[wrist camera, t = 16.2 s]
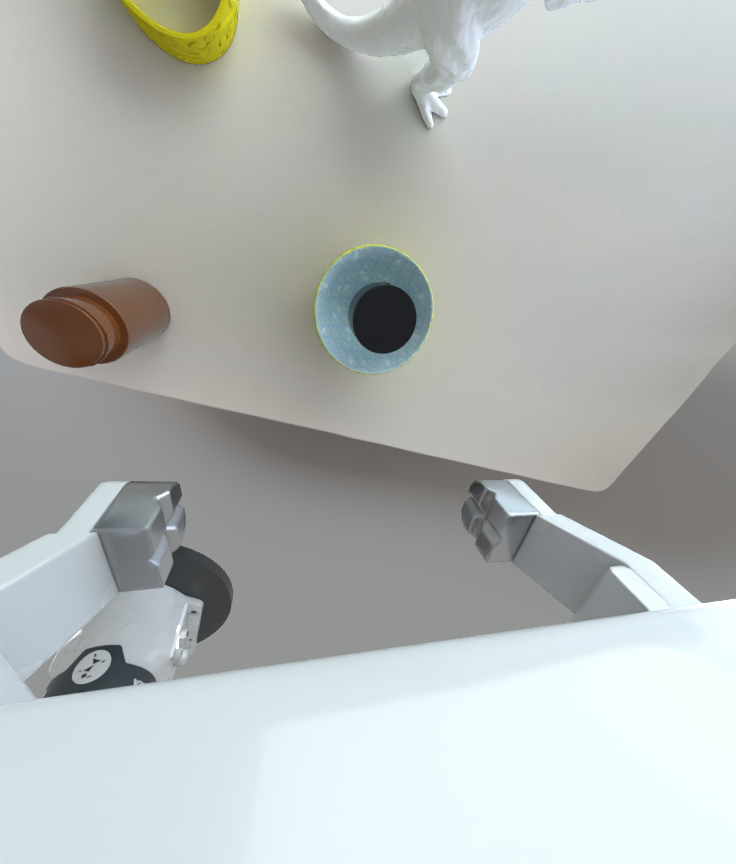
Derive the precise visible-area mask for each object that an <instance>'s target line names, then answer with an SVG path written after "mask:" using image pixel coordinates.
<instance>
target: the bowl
mask: <svg viewBox="0 0 736 864" xmlns="http://www.w3.org/2000/svg"><path fill="white" fill-rule="evenodd" d="M376 282H382V283H383V282H387V283H390V285H394V286H396V287H399V288H401V289H402V290H404V291H405V292H406V293H407V294H408V295H409V296H410V297H411V299H412V301H413V303H414V305H415V308H416V314H417V321H416V326H415V330H414V332H413V334H412V336H411V338H410V339H409V341H408V342H407V343H406V344H405V345H404V346H403V347H401V348H400V349H398V350H396V351H394V352H392V353H387V354H378V353H374V352H371V351H369V350H367V349H366V348H365V347H363V346H362V345H361V344H360V342H359V341H358V340H357V338H356V337H355V336H354V334H353V333H352V331H351V329H350V326H349V321H348V310H349V306H350V303H351V301H352V299H353V297H354V296H355V294H356V293H357V292H358V291H359V290H360V289H361V288H363V287H364V286H366V285H368V284H371V283H376ZM433 309H434V306H433V295H432V291H431V288H430V285H429V282H428V280H427V278H426V276H425V274H424V272H423V271H422V269H421V268H420V267H419V265H418V264H417V263H416V262H415V261H414V260H413V259H412V258H411V257H409V256H408V255H407V254H405V253H404V252H402V251H400V250H398V249H395V248H393V247H390V246H385V245H379V244H370V245H363V246H359V247H356V248H353V249H351V250H349V251H347V252H345V253H344V254H342V255H341V256H339V257H338V258H337V259H336V260H335V261H334V262H333V263H332V264H331V265H330V266H329V268H328V269H327V270H326V272H325V273H324V275H323V277H322V279H321V281H320V283H319V285H318V288H317V291H316V296H315V301H314V320H315V326H316V330H317V333H318V336H319V339H320V341H321V343H322V345H323V346H324V348H325V349H326V351H327V352H328V353H329V355H330V356H331V357H332V358H333V359H334V360H335V361H336V362H338V363H339V364H340V365H342V366H343V367H345V368H347V369H349V370H351V371H354V372H357V373H361V374H369V375H375V374H383V373H387V372H390V371H393V370H395V369H397V368H399V367H401V366H403V365H404V364H405V363H407V362H408V361H409V360H410V359H411V358H413V357H414V356H415V354H416V353H417V352H418V351H419V350H420V348H421V347H422V345H423V343H424V342H425V340H426V338H427V336H428V333H429V331H430V328H431V324H432V319H433Z"/></svg>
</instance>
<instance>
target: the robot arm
mask: <svg viewBox="0 0 736 864" xmlns="http://www.w3.org/2000/svg"><path fill="white" fill-rule="evenodd" d="M469 493H470V496H471V497H470V498H468V500H466V501H465V502H464V505H463V508H462V521H463V525H464V527H465V529H466V530H467V532H468V533H469V534H471V535H472V536H474V537H475V538H476V541H475V545H476V547H477V548H478V550H479V551H480V553H481V554H482V556H483V558H484V559H485V561H486V562H507V561H512V563H513V564H514V565H515V566H516V567H518V568H519V569H520V570H521V571H523V572H524V573H525V574H526V575H528V576H529V577H530V578H531V579H532V580H534V581H535V582H536V583H537V584H539V585H540V586H541V587H542V588H543V589H545V590H546V591H547V592H548V593H550V594H551V595H552V596H553V597H555V598H556V599H557V600H558V601H560V602H561V603H562V604H563V605H564V606H566V607H567V608H568V609H569V610H570V611H572V612H573V613H574V615H573V617H572V618H571V619H570V621H569V622H568V623H564V624H558V625H550V626H544V627H536V628H529V629H523V630H516V631H509V632H501V633H495V634H487V635H481V636H473V637H466V638H459V639H452V640H446V641H439V642H431V643H425V644H417V645H410V646H404V647H397V648H390V649H383V650H376V651H369V652H362V653H355V654H348V655H341V656H335V657H327V658H320V659H313V660H306V661H300V662H292V663H285V664H278V665H272V666H264V667H258V668H250V669H244V670H236V671H229V672H222V673H215V674H208V675H201V676H194V677H187V678H180V679H173V680H172V678H173V676H174V673H175V670H176V666H184V665H186V663H187V659H188V656H189V655H191V654H193V653H194V650H195V647H196V643H197V638H198V632H199V627H200V621H201V616H202V611H203V605H204V603H203V601H202V600H199V599H196V598H193V597H189V596H186V595H184V594H182V593H181V592H179V591H177V590H176V589H174V588H172V587H169V586H167V585H165V582H166V580H167V577H168V575H169V573H170V570H171V568H172V565H173V558H172V553H173V552H174V551H175V550H177V549H178V548H179V547H180V544H181V542H182V539H183V536H184V531H185V525H186V524H185V523H186V519H185V518H186V517H185V510H184V508H183V507H181V506H180V505H179V504H178V503H179V501H180V498H181V496H182V493H181V488H180V484H178V483H177V482H140V481H136V482H135V481H130V482H127V481H124V482H123V481H121V482H120V481H106V482H103V483H101V484H99V485H98V486H97V487H96V488H95V490H94V491H93V492H92V493H91V494H90V495H89V497H88V498H87V499H86V500H85V501H84V502H83V503H82V505H81V506H80V507H79V508H78V509H77V510H76V512H75V513H74V514H73V515H72V516H71V517H70V518H69V520H68V521H67V522H66V523H65V524H64V526H63V527H62V528H61V529H60V530H59V531H58V532H57V533H56V534H46V535H45V536H43V537H41V538H39V539H37V540H35V541H33V542H31V543H29V544H27V545H25V546H23V547H21V548H19V549H17V550H15V551H13V552H12V553H10V554H8V555H6V556H4V557H2V558H0V864H736V599H732V600H725V601H718V602H712V603H704V604H702V603H701V602H699V601H698V600H697V599H696V598H695V597H694V596H693V595H691V594H690V593H689V592H688V591H687V590H686V589H684V588H683V587H682V586H681V585H680V584H678V583H677V582H676V581H675V580H674V579H673V578H672V577H670V576H669V575H668V574H667V573H666V572H665V571H663V570H662V569H661V568H660V567H659V566H657V564H655V563H654V562H653V561H651V560H649V559H647V558H645V557H643V556H641V555H639V554H637V553H635V552H633V551H631V550H629V549H627V548H625V547H624V546H622V545H619V544H618V543H616V542H614V541H612V540H610V539H608V538H606V537H604V536H602V535H600V534H598V533H596V532H594V531H592V530H590V529H588V528H586V527H584V526H582V525H580V524H579V523H577V522H575V521H573V520H571V519H569V518H567V517H565V516H563V515H556V514H555V513H554V512H553V511H552V510H551V509H550V508H549V507H548V506H547V505H546V504H545V503H544V502H543V501H542V500H541V499H540V498H539V497H538V496H537V495H536V494H535V493H534V492H533V491H532V490H531V489H530V488H529V487H528V486H527V485H526V484H525V483H524V482H523V481H521V480H518V479H513V480H489V481H488V480H486V481H474V482H473V483H472V484H471V486H470V489H469ZM57 651H58V652H57ZM56 652H57V653H56ZM55 653H56V655H55V657H54V659H53V661H52V664H51V666H50V668H49V673H50V675H51V677H52V678H53V680H52V681H51V682H50V684H49V685H48V687H47V689H46V691H45V693H43V694H42V696H41V698H40V699H37V698H36V697H35V696H34V694H33V693H32V692H31V690H30V689H29V688H28V687H27V685H26V684H25V683H24V681H25V680H26V679H27V678H28V677H29V676H30V675H31V674H32V673H34V672H35V671H36V670H37V669H38V668H39V667H40V666H41V665H42V664H44V663H45V662H46V661H47V660H48V659H49V658H50V657H51V656H52V655H53V654H55Z"/></svg>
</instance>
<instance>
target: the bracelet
mask: <svg viewBox="0 0 736 864" xmlns="http://www.w3.org/2000/svg"><path fill="white" fill-rule="evenodd" d="M120 1H121V2H122V4H123V5H124V7H125V8H126V9H127V11H128V12H129V14H130V15H131V16H132V18H133V19H134V20H135V21H136V23H137V24H138V26H139V27H140V28H141V29H142V30H143V31H144V33H145V34H146V35H147V36H148V37H149V38H150V39H151V40H152V41H154V42H155V43H156V44H157V45H158V46H159V47H160V48H161V49H163V50H164V51H166V52H167V53H168V54H170V55H171V56H173V57H175V58H176V59H179V60H181V61H184V62H186V63H191V64H205V63H209V62H211V61H214V60H216V59H218V58H219V57H221V56H222V55H223V54H224V53H225V51H226V50H227V49H228V47H229V46H230V44H231V41H232V39H233V36H234V33H235V30H236V25H237V19H238V0H221V1H220V4H219V7H218V9H217V12H216V13H215V15H214V17H213V19H212V20H211V21H210V22H209V24H208V25H206V26H205V27H203V28H202V29H200V30H198V31H196V32H191V33H179V32H175V31H172V30H169V29H166V28H164V27H162V26H161V25H159V24H157V23H156V22H154V21H153V20H151V19H150V18H149V17H147V16H146V15H145V14H144V13H143V12H142V11H140V10H139V9H138V8H137V7H136V6H135V5H134V4H133V3H132V2H131V1H130V0H120Z"/></svg>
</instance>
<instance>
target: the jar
mask: <svg viewBox="0 0 736 864" xmlns="http://www.w3.org/2000/svg"><path fill="white" fill-rule="evenodd" d="M169 321H170V311H169V307H168V305H167V303H166V301H165V299H164V298H163V296H162V295H161V294H160V293H159V292H158V291H157V290H156V289H155V288H154V287H152V286H151V285H149V284H148V283H146V282H143V281H141V280H138V279H133V278H123V279H116V280H109V281H102V282H95V283H88V284H81V285H73V286H66V287H60V288H57V289H54V290H52V291H50V292H48V293H47V294H46V295H45V296H44V297H43V299H41V300H37V301H34V302H32V303H30V304H29V305H28V306H27V307H26V308H25V309H24V310H23V312H22V315H21V322H20V323H21V329H22V332H23V334H24V336H25V338H26V340H27V341H28V343H29V344H30V345H31V346H32V347H33V349H34V350H36V351H37V352H38V353H39V354H40V355H42V356H43V357H45V358H46V359H48V360H50V361H52V362H54V363H56V364H59V365H62V366H66V367H73V368H81V367H88V366H93V365H96V364H105V363H110V362H113V361H116V360H117V359H119V358H121V357H123V356H124V355H126V354H128V353H129V352H131V351H133V350H134V349H136V348H138V347H140V346H141V345H143V344H145V343H146V342H148V341H150V340H151V339H153V338H155V337H156V336H158V335H160V334H161V333H163V332H164V331H165V330H166V328H167V327H168V325H169Z"/></svg>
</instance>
